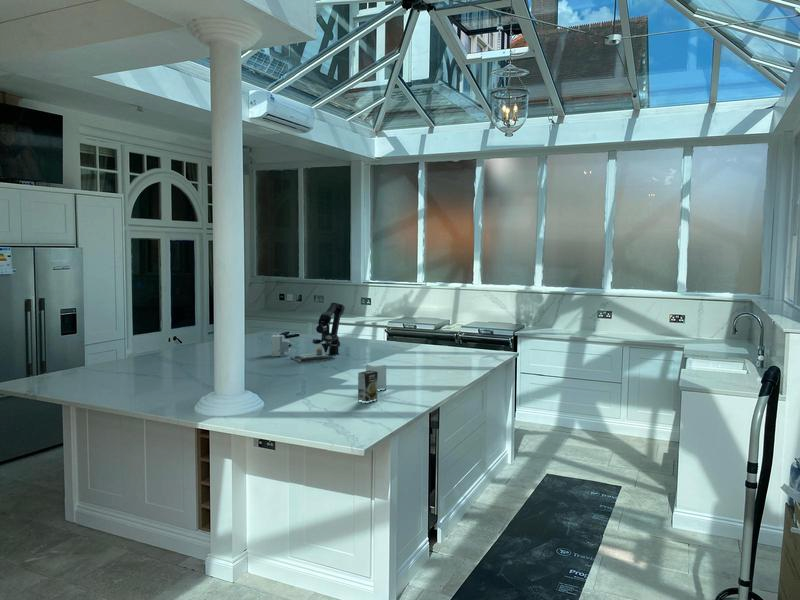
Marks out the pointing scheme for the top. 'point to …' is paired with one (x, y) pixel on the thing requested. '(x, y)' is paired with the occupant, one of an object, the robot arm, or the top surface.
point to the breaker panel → (310, 357)
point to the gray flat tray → (313, 358)
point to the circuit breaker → (279, 345)
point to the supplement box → (381, 373)
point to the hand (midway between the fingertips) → (325, 352)
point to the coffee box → (367, 385)
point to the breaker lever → (319, 351)
